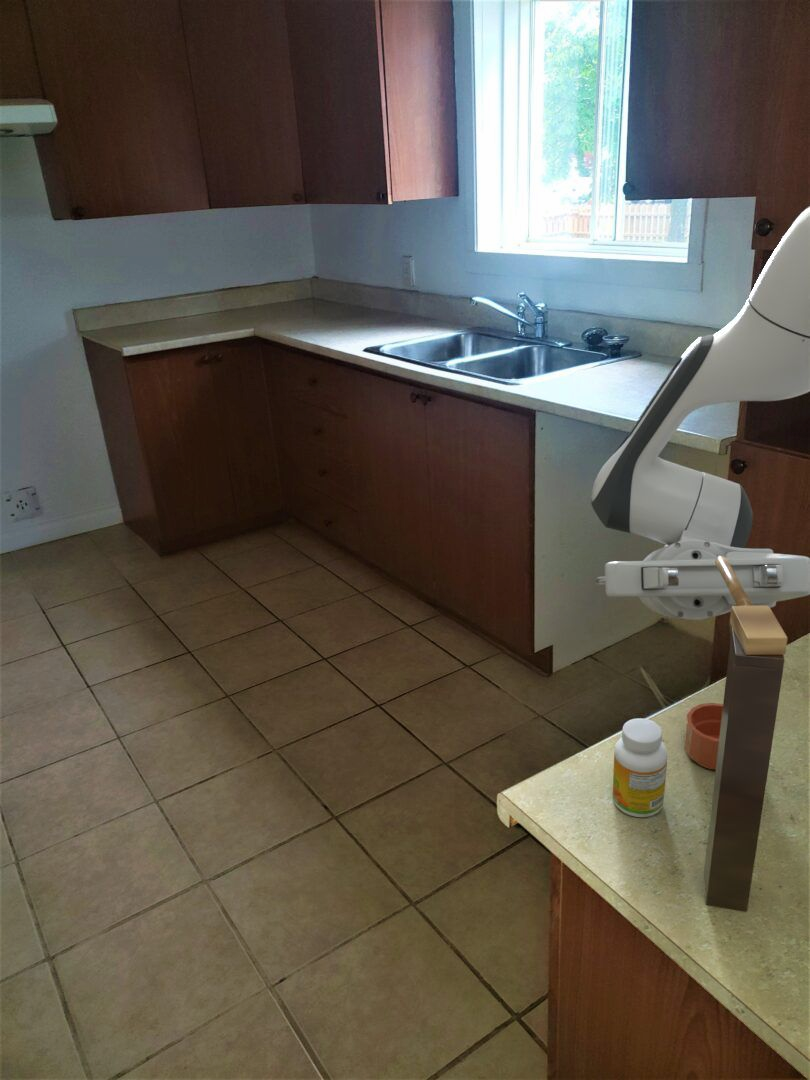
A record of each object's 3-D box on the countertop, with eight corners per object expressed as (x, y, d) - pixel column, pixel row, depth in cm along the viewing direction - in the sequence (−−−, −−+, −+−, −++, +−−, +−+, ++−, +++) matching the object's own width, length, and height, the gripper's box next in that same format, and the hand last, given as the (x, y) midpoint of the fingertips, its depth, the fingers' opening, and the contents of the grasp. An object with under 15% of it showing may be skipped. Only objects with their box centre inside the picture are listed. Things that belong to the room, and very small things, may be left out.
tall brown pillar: (741, 861, 81) (775, 619, 69) (747, 911, 75) (784, 659, 63) (703, 856, 82) (730, 616, 70) (705, 905, 76) (735, 655, 64)
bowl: (745, 737, 97) (749, 706, 95) (750, 777, 91) (755, 745, 89) (683, 730, 99) (686, 700, 97) (684, 769, 93) (687, 737, 91)
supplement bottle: (611, 781, 92) (614, 712, 88) (661, 785, 91) (667, 715, 87) (612, 816, 87) (616, 744, 83) (665, 821, 86) (671, 748, 82)
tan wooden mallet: (785, 655, 64) (788, 637, 63) (745, 655, 64) (747, 638, 64) (735, 566, 77) (737, 551, 77) (702, 566, 78) (704, 551, 77)
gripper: (593, 553, 92) (608, 544, 78) (784, 549, 89) (833, 539, 76) (595, 609, 91) (610, 610, 78) (787, 606, 89) (837, 607, 75)
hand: (722, 575), depth 77 cm, fingers open, 8 cm apart
